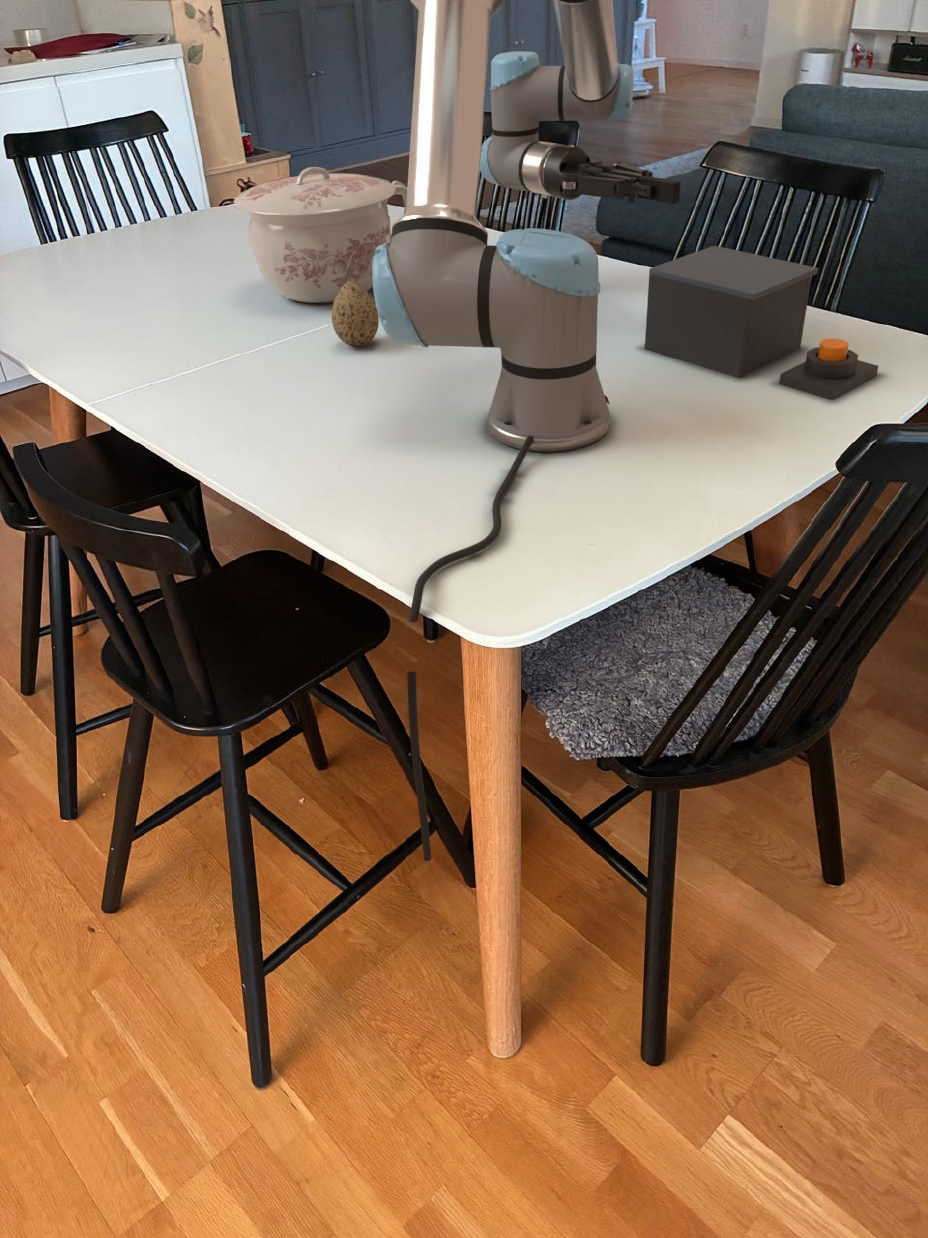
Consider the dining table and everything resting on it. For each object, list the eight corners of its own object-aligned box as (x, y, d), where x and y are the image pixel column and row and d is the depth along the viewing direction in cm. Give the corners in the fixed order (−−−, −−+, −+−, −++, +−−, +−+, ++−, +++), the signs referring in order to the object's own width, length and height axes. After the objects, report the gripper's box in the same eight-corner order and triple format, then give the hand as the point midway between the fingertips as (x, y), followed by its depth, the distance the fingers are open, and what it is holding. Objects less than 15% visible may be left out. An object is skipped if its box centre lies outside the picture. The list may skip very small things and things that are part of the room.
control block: (876, 376, 132) (881, 351, 130) (831, 400, 127) (836, 374, 125) (824, 361, 137) (828, 337, 135) (778, 384, 132) (782, 359, 130)
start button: (851, 357, 130) (854, 342, 129) (836, 365, 128) (839, 350, 127) (827, 351, 132) (829, 336, 131) (812, 358, 130) (814, 343, 129)
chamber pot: (225, 314, 167) (200, 185, 154) (285, 267, 188) (267, 150, 176) (380, 320, 160) (366, 185, 148) (425, 270, 182) (416, 149, 170)
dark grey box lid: (817, 273, 135) (818, 267, 134) (753, 300, 127) (754, 294, 127) (713, 250, 146) (714, 245, 145) (649, 273, 138) (649, 268, 138)
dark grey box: (800, 348, 141) (812, 272, 135) (738, 378, 134) (748, 299, 128) (706, 322, 152) (713, 251, 146) (644, 348, 144) (649, 274, 138)
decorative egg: (390, 341, 152) (384, 277, 146) (361, 356, 148) (354, 290, 142) (355, 334, 156) (347, 271, 150) (326, 349, 151) (317, 284, 145)
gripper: (586, 188, 158) (703, 211, 143) (528, 204, 151) (644, 230, 136) (587, 137, 154) (708, 155, 139) (527, 152, 147) (647, 172, 132)
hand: (676, 192), depth 138 cm, fingers closed
